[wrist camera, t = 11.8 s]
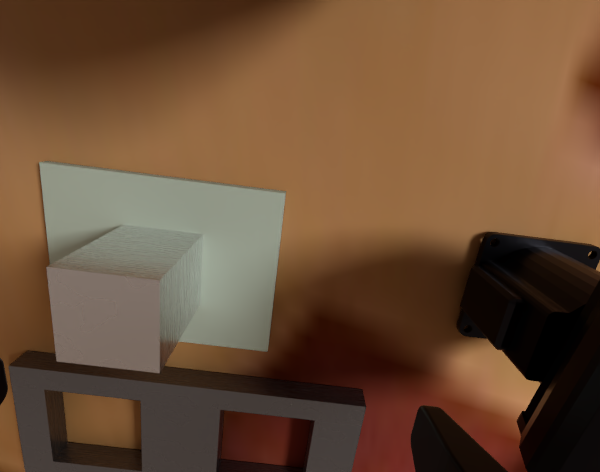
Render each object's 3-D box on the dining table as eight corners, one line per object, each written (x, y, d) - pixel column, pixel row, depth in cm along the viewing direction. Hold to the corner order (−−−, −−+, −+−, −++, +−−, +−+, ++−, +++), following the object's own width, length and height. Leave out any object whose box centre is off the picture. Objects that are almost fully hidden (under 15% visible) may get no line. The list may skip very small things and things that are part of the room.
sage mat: (285, 191, 19) (285, 193, 19) (268, 345, 22) (267, 351, 22) (47, 161, 19) (39, 162, 18) (63, 321, 22) (56, 327, 21)
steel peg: (203, 234, 19) (159, 280, 14) (200, 304, 21) (159, 373, 15) (123, 224, 19) (46, 266, 14) (126, 295, 21) (56, 361, 15)
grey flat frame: (362, 389, 23) (365, 406, 22) (340, 487, 26) (342, 509, 24) (27, 350, 23) (8, 365, 21) (41, 454, 25) (25, 474, 24)
